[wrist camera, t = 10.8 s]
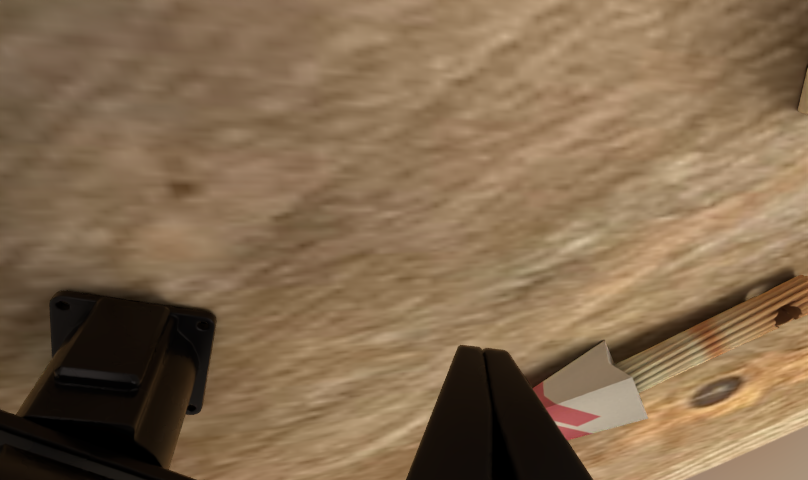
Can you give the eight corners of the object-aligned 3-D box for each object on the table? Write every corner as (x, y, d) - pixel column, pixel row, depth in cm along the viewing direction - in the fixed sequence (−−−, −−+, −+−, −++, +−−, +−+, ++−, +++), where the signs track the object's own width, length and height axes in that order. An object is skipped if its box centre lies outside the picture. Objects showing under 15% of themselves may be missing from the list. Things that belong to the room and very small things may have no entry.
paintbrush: (455, 460, 25) (837, 281, 23) (443, 416, 27) (788, 250, 25) (483, 494, 27) (836, 333, 25) (469, 451, 29) (791, 300, 27)
